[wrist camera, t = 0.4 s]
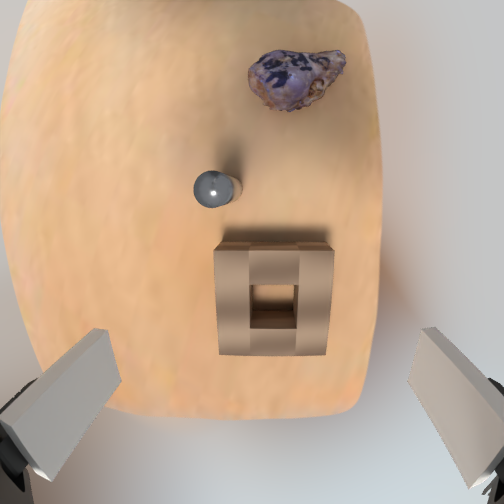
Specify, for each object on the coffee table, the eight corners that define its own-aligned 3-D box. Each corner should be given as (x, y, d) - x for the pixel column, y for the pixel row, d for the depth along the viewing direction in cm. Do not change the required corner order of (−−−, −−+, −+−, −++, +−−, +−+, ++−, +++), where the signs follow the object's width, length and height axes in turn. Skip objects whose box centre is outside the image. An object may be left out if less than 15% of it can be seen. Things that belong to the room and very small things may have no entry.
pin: (215, 176, 32) (193, 171, 22) (242, 176, 32) (230, 169, 22) (216, 202, 33) (194, 208, 23) (242, 202, 32) (230, 207, 23)
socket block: (221, 241, 33) (213, 250, 29) (325, 241, 33) (334, 250, 28) (225, 334, 36) (219, 354, 31) (319, 334, 35) (325, 355, 30)
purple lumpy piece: (330, 46, 28) (341, 22, 22) (357, 97, 29) (373, 80, 23) (240, 71, 29) (234, 49, 23) (263, 125, 31) (262, 111, 25)
